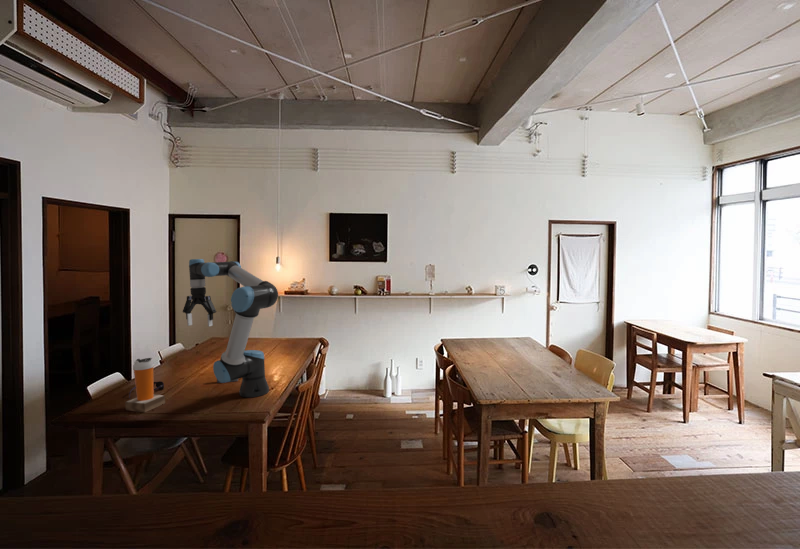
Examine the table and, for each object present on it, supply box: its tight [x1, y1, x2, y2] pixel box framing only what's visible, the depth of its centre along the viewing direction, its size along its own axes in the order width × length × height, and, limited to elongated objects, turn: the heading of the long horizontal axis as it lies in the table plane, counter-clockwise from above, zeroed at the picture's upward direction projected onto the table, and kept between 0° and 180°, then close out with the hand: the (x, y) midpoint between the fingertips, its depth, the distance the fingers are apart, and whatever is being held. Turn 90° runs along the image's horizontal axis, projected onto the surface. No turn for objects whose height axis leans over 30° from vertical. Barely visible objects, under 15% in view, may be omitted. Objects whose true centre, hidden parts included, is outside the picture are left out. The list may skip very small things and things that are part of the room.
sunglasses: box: [128, 380, 165, 399], centre depth 229 cm, size 14×16×5 cm
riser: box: [124, 394, 166, 413], centre depth 209 cm, size 12×12×4 cm
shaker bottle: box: [132, 357, 155, 401], centre depth 209 cm, size 9×9×20 cm
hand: (200, 325), depth 229 cm, fingers open, 13 cm apart
